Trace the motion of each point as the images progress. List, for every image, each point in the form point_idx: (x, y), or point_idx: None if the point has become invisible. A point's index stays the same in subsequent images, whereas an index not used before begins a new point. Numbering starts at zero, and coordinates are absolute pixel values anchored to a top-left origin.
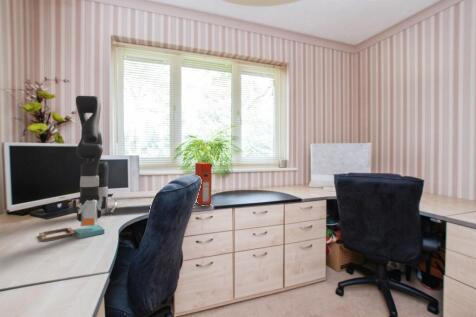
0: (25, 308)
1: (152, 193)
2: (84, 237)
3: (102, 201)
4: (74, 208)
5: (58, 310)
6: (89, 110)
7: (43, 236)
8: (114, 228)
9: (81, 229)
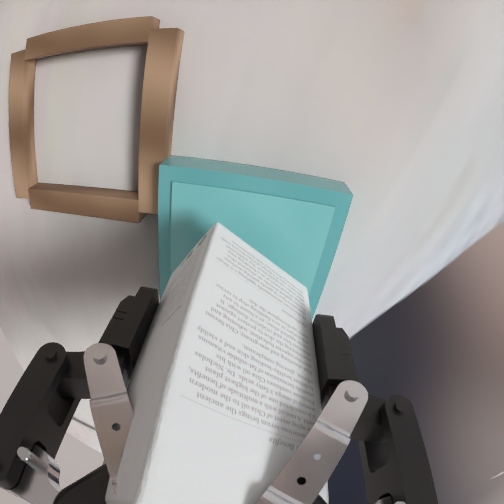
0: (83, 441)
1: None
2: None
3: (382, 493)
4: (54, 420)
5: None
6: None
7: (16, 151)
8: (402, 272)
9: (194, 231)
